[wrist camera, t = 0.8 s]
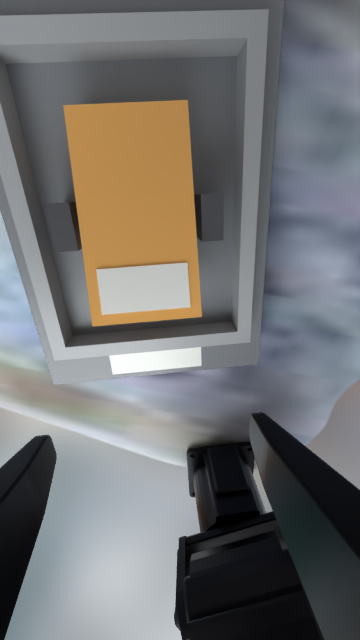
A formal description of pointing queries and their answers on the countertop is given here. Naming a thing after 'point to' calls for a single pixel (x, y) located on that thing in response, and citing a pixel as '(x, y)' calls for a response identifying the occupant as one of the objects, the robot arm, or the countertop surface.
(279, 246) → the countertop surface
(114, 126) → the plate
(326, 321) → the countertop surface
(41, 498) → the robot arm
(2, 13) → the switch panel
